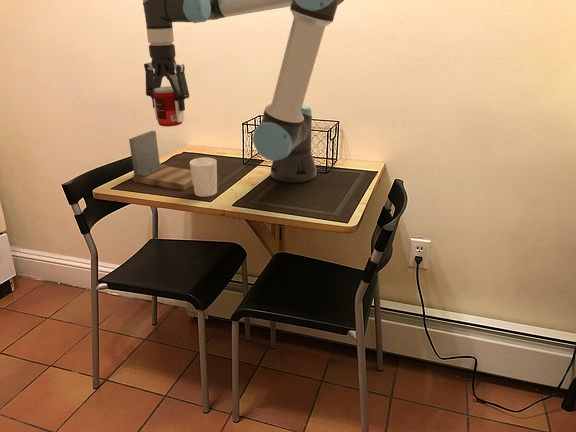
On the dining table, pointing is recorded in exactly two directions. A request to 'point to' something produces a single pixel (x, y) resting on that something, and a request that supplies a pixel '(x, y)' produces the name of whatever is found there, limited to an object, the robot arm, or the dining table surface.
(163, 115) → the canned food
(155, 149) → the bookend
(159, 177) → the shelf board
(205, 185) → the white cup
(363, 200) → the dining table surface
